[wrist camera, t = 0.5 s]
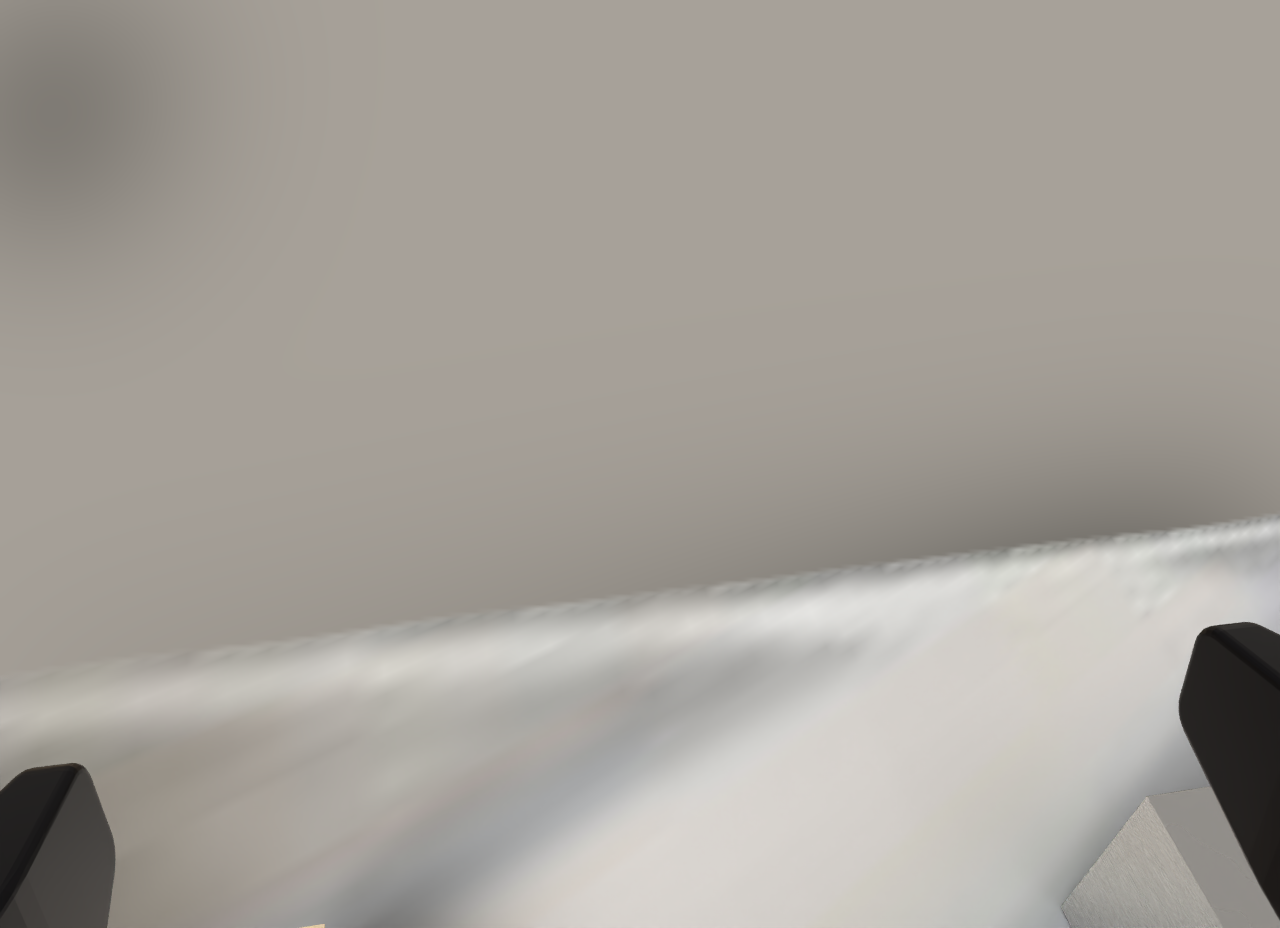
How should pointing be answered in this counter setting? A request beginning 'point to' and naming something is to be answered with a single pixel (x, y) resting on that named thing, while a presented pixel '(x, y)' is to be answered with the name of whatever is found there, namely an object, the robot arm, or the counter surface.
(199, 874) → the counter surface
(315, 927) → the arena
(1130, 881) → the bracket
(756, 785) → the counter surface
